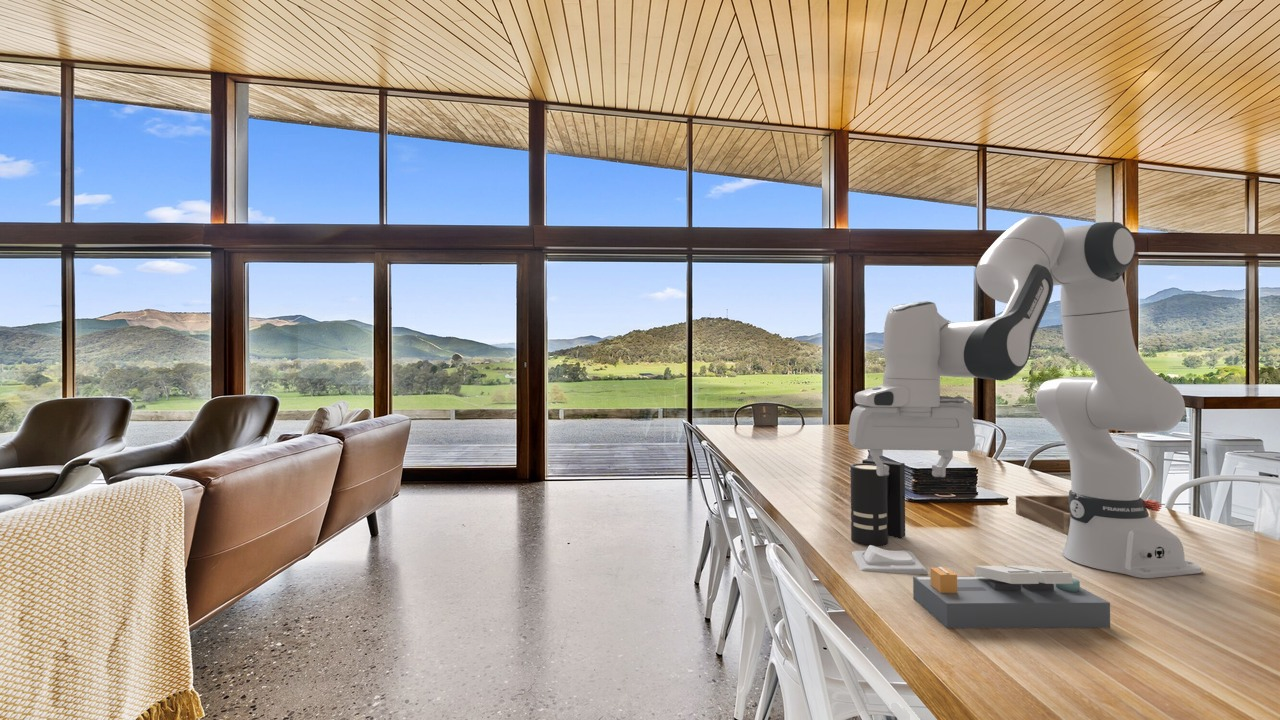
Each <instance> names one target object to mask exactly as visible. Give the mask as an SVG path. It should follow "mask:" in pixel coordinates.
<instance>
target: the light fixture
mask: <svg viewBox="0 0 1280 720" xmlns="http://www.w3.org/2000/svg"><path fill="white" fill-rule="evenodd" d="M881 461H882V463H883V464H885V465H887V466H889V471H888V472H889V476H879V475H877V472H876V464H875V462H874V460H873V459H872V458H865V459H862V461H861V462H862V463H859V462H858V463H853V464H850V472H849V473H850V529H851V530H850V539H851V541H852V542H853V543H855V544H856V545H859V546H860V545H861V546H865V547H869V546H870V545H872V546H875V547H878V548H881V547H885V546H887V545H888V544H889V537H890V538H895V539H900V540H901V539H903V538H904V537H906V479H905V478H906V477H905V476H906V474H905V473H906V472H905V469H906V467H905V463H904V462H897V461H890V460H882V459H881Z"/></svg>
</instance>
